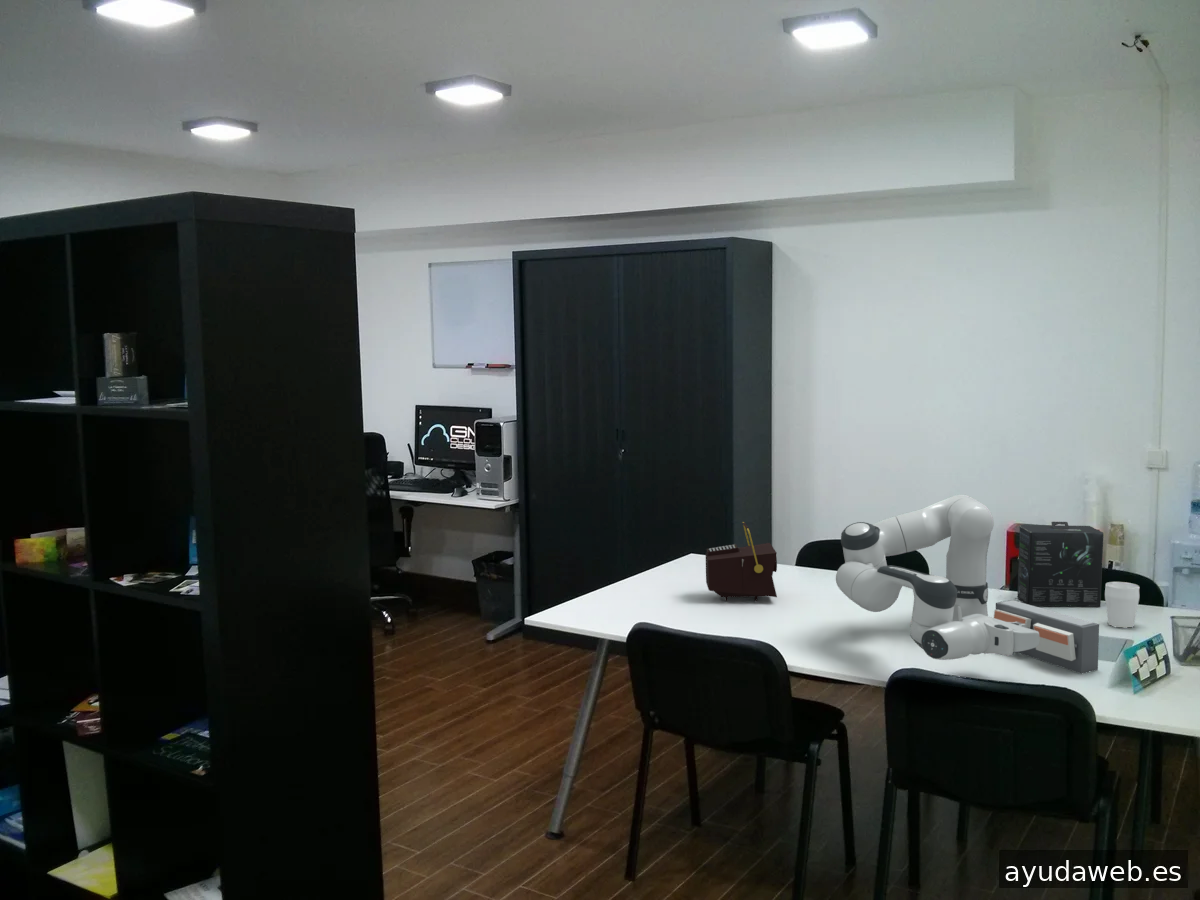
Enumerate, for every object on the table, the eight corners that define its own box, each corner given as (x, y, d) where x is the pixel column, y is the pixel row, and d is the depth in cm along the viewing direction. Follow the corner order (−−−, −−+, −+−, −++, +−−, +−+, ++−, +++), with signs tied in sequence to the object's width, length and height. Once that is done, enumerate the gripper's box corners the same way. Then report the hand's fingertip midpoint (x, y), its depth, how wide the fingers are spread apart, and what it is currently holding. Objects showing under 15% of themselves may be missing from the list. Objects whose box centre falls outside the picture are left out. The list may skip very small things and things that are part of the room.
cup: (1119, 631, 294) (1121, 590, 292) (1096, 622, 302) (1097, 583, 301) (1145, 628, 296) (1147, 587, 295) (1122, 619, 305) (1123, 580, 303)
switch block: (1081, 673, 259) (1082, 626, 258) (994, 645, 284) (995, 602, 283) (1113, 665, 264) (1115, 619, 263) (1025, 638, 289) (1026, 596, 288)
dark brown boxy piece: (781, 604, 332) (780, 528, 329) (709, 606, 332) (708, 530, 329) (773, 591, 348) (773, 519, 345) (705, 593, 349) (704, 521, 346)
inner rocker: (1023, 645, 271) (1027, 619, 271) (989, 634, 281) (993, 609, 281) (1030, 645, 272) (1034, 619, 272) (996, 634, 282) (999, 609, 282)
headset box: (1088, 597, 330) (1090, 518, 327) (1102, 607, 318) (1104, 525, 315) (1015, 597, 332) (1017, 519, 329) (1027, 607, 321) (1029, 526, 318)
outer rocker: (1071, 661, 259) (1069, 636, 258) (1034, 649, 269) (1031, 624, 268) (1078, 658, 260) (1076, 632, 259) (1041, 646, 270) (1038, 621, 269)
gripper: (950, 636, 261) (990, 628, 267) (1013, 657, 243) (1055, 648, 249) (950, 612, 261) (990, 604, 266) (1014, 632, 242) (1055, 623, 248)
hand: (1022, 626), depth 257 cm, fingers closed
